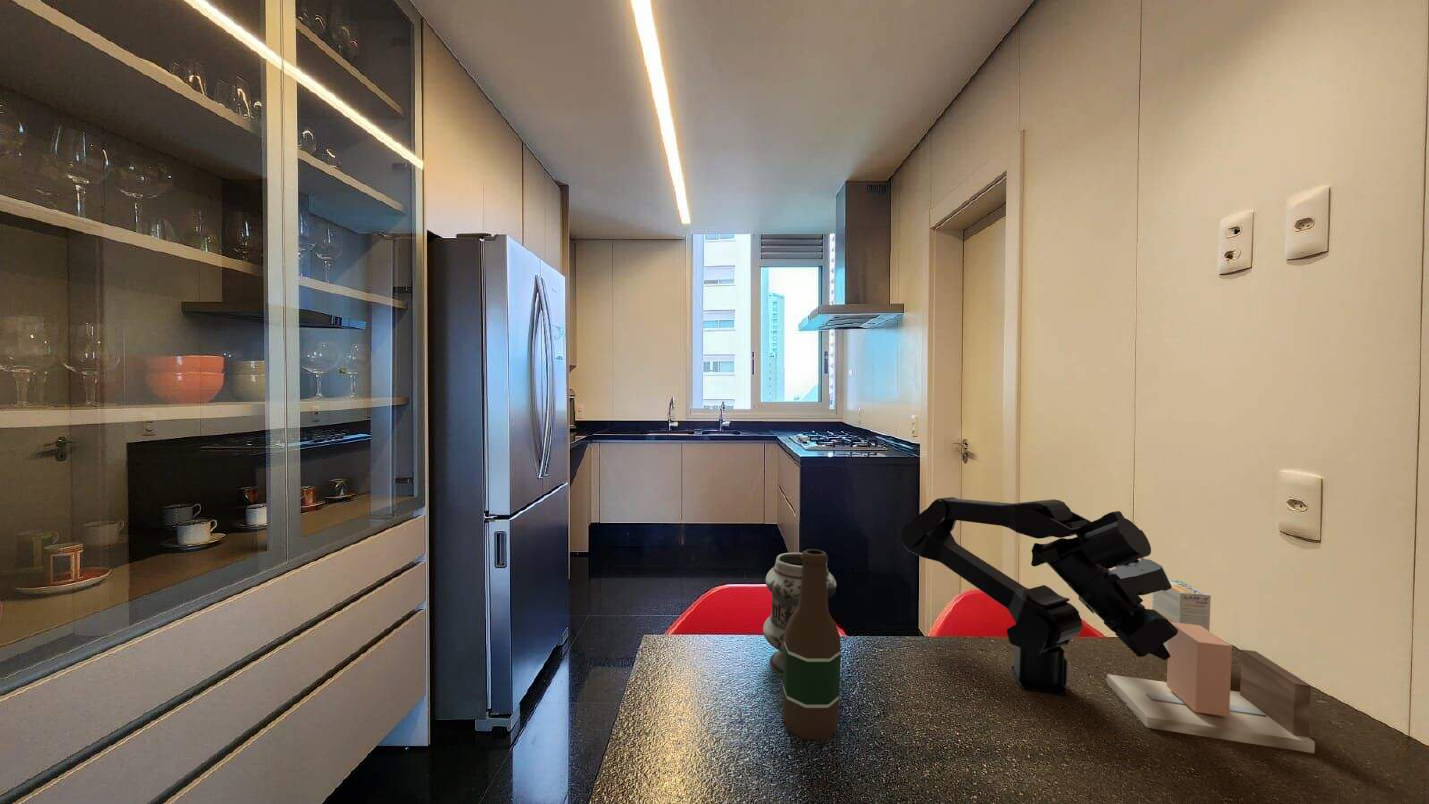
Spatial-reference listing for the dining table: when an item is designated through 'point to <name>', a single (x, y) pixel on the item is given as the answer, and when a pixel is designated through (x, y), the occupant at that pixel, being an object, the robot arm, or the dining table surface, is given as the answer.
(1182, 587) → the supplement box
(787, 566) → the apothecary jar
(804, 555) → the beer bottle
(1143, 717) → the track
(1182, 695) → the tan rectangular block
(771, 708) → the dining table surface
